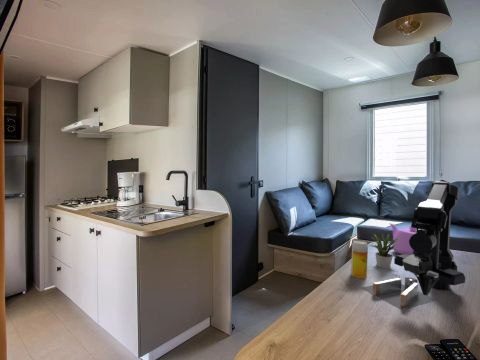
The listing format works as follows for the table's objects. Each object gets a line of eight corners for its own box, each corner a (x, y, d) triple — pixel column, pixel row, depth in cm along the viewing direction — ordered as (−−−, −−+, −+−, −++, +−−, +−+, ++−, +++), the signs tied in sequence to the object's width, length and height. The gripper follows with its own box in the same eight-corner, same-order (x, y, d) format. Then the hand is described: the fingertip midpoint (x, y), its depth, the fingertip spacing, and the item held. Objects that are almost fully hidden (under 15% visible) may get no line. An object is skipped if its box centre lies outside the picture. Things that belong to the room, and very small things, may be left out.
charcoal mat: (393, 283, 112) (394, 280, 112) (437, 302, 97) (437, 300, 97) (360, 290, 105) (360, 287, 105) (401, 312, 90) (401, 309, 90)
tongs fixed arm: (398, 288, 105) (398, 277, 105) (401, 289, 104) (401, 278, 104) (372, 294, 100) (372, 282, 100) (375, 295, 99) (376, 284, 99)
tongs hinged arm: (406, 286, 107) (407, 276, 106) (421, 291, 103) (421, 280, 103) (388, 302, 94) (389, 290, 94) (404, 307, 91) (405, 295, 91)
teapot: (443, 256, 146) (445, 228, 145) (414, 261, 139) (416, 231, 138) (404, 244, 167) (405, 220, 166) (377, 248, 160) (378, 222, 159)
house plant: (405, 277, 119) (407, 239, 118) (369, 272, 123) (371, 235, 122) (399, 265, 132) (400, 231, 131) (367, 261, 137) (368, 228, 136)
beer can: (368, 281, 114) (369, 245, 113) (352, 279, 115) (353, 243, 114) (364, 275, 120) (366, 240, 119) (349, 274, 121) (350, 240, 120)
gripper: (383, 240, 92) (381, 286, 93) (442, 258, 75) (439, 315, 76) (406, 237, 97) (404, 281, 97) (468, 254, 79) (464, 307, 80)
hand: (425, 294), depth 88 cm, fingers closed
